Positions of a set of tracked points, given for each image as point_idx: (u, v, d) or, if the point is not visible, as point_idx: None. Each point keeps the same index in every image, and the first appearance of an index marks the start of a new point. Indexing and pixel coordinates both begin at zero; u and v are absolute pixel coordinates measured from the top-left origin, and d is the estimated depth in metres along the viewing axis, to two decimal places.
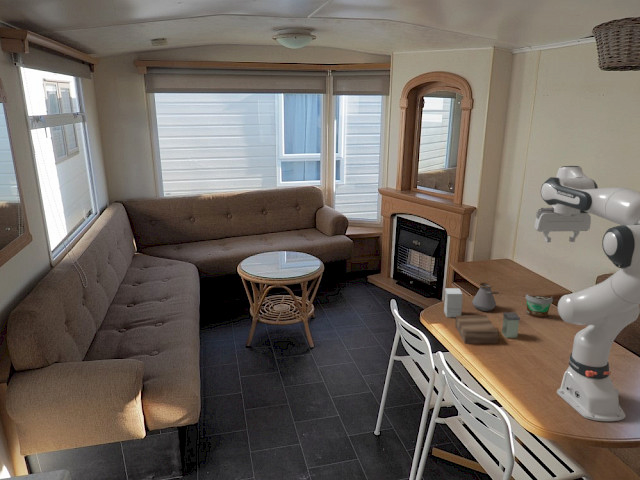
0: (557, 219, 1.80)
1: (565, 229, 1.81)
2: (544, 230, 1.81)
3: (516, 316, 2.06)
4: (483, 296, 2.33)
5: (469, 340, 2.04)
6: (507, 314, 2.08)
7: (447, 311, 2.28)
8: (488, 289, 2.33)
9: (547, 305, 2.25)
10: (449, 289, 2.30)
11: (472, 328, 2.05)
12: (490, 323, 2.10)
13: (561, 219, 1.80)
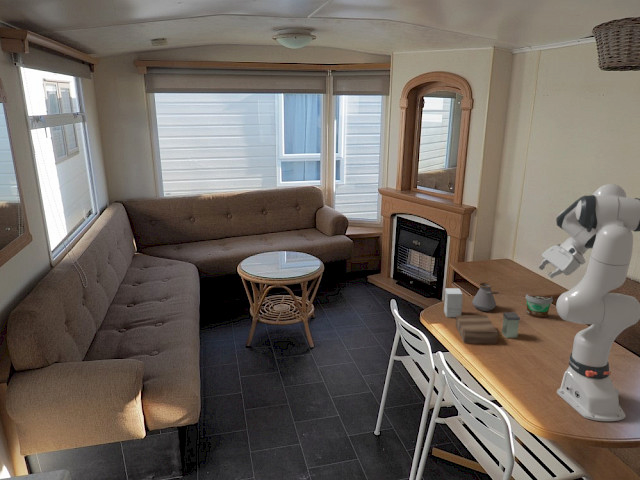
0: (556, 253, 2.02)
1: (552, 261, 1.99)
2: (543, 256, 2.07)
3: (516, 316, 2.06)
4: (483, 296, 2.33)
5: (469, 340, 2.04)
6: (507, 314, 2.08)
7: (447, 311, 2.28)
8: (488, 289, 2.33)
9: (547, 305, 2.25)
10: (449, 289, 2.30)
11: (472, 328, 2.05)
12: (490, 323, 2.09)
13: (558, 254, 2.00)
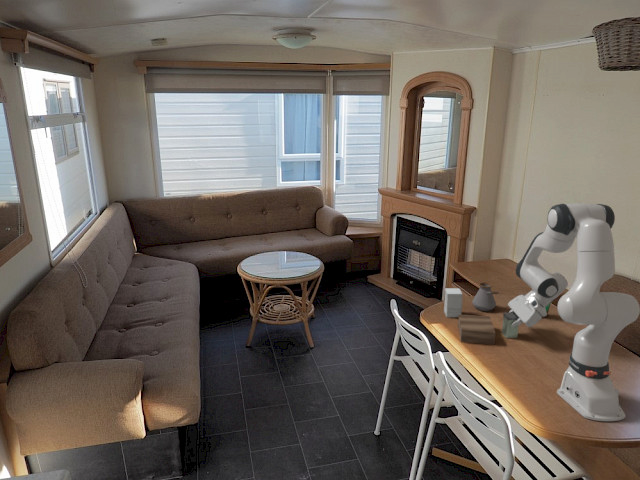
0: (521, 303, 2.09)
1: (517, 312, 2.06)
2: (509, 305, 2.14)
3: (516, 316, 2.06)
4: (483, 296, 2.33)
5: (466, 339, 2.05)
6: (507, 314, 2.08)
7: (447, 311, 2.28)
8: (488, 289, 2.33)
9: (547, 305, 2.25)
10: (449, 289, 2.30)
11: (470, 327, 2.06)
12: (490, 324, 2.08)
13: (522, 305, 2.08)
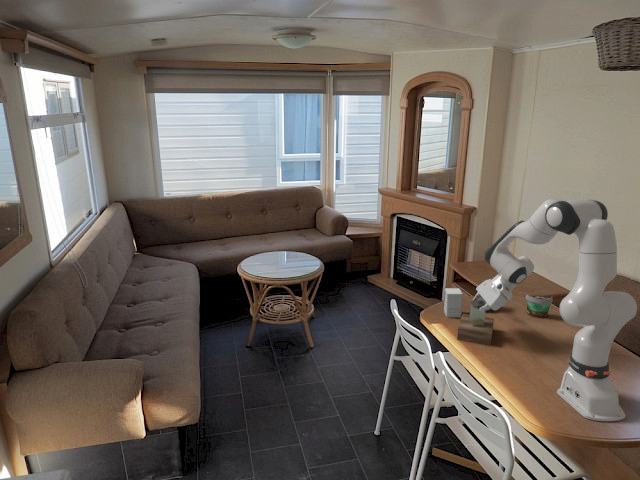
0: (488, 287, 2.08)
1: (483, 296, 2.06)
2: (477, 289, 2.13)
3: (482, 304, 2.05)
4: None
5: (462, 338, 2.06)
6: (474, 302, 2.07)
7: (447, 311, 2.28)
8: None
9: (547, 305, 2.25)
10: (449, 289, 2.30)
11: (467, 327, 2.07)
12: (490, 326, 2.07)
13: (489, 289, 2.07)
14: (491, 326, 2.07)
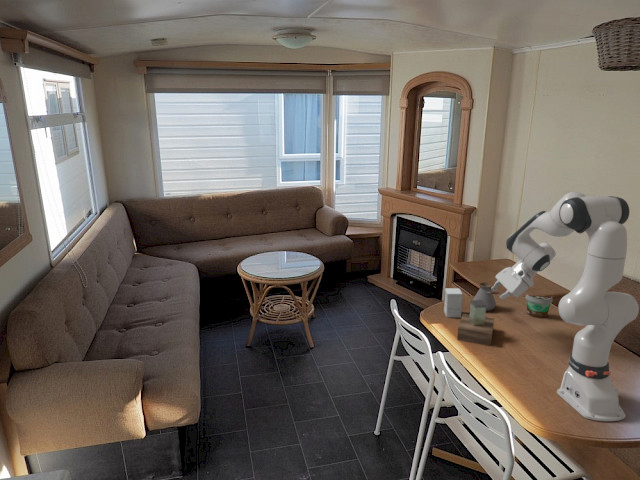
0: (508, 275, 2.06)
1: (504, 283, 2.04)
2: (497, 277, 2.11)
3: (483, 303, 2.06)
4: (483, 296, 2.33)
5: (462, 338, 2.06)
6: (474, 302, 2.08)
7: (447, 311, 2.28)
8: (488, 289, 2.33)
9: (547, 305, 2.25)
10: (449, 289, 2.30)
11: (467, 327, 2.07)
12: (491, 326, 2.07)
13: (509, 276, 2.05)
14: (491, 326, 2.07)
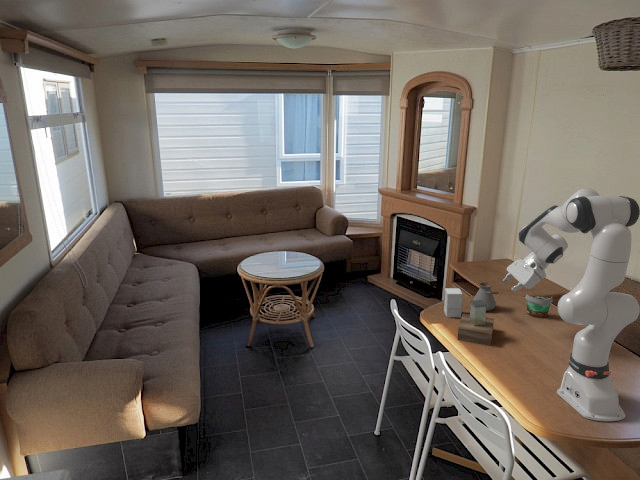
0: (520, 267, 2.05)
1: (515, 275, 2.03)
2: (508, 269, 2.10)
3: (483, 303, 2.06)
4: (483, 296, 2.33)
5: (462, 338, 2.06)
6: (474, 302, 2.08)
7: (447, 311, 2.28)
8: (488, 289, 2.33)
9: (547, 305, 2.25)
10: (449, 289, 2.30)
11: (468, 327, 2.07)
12: (491, 326, 2.07)
13: (521, 268, 2.04)
14: (491, 326, 2.07)
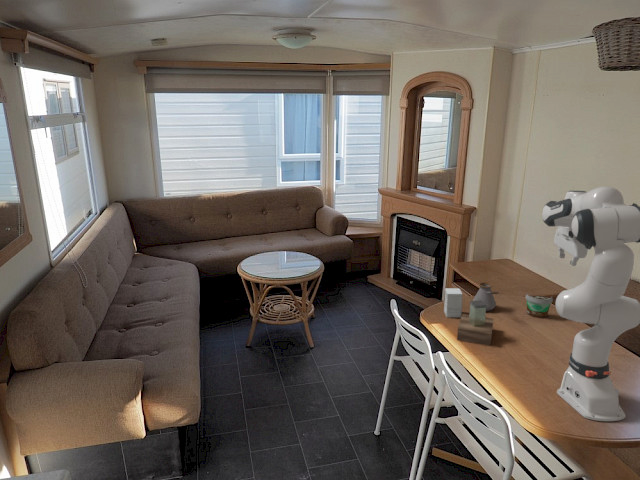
0: (563, 237, 1.94)
1: (565, 249, 1.92)
2: (556, 244, 1.99)
3: (483, 304, 2.06)
4: (483, 296, 2.33)
5: (461, 338, 2.06)
6: (474, 302, 2.07)
7: (447, 311, 2.28)
8: (488, 289, 2.33)
9: (547, 305, 2.25)
10: (449, 289, 2.30)
11: (467, 327, 2.07)
12: (490, 326, 2.07)
13: (565, 238, 1.92)
14: (491, 326, 2.07)
